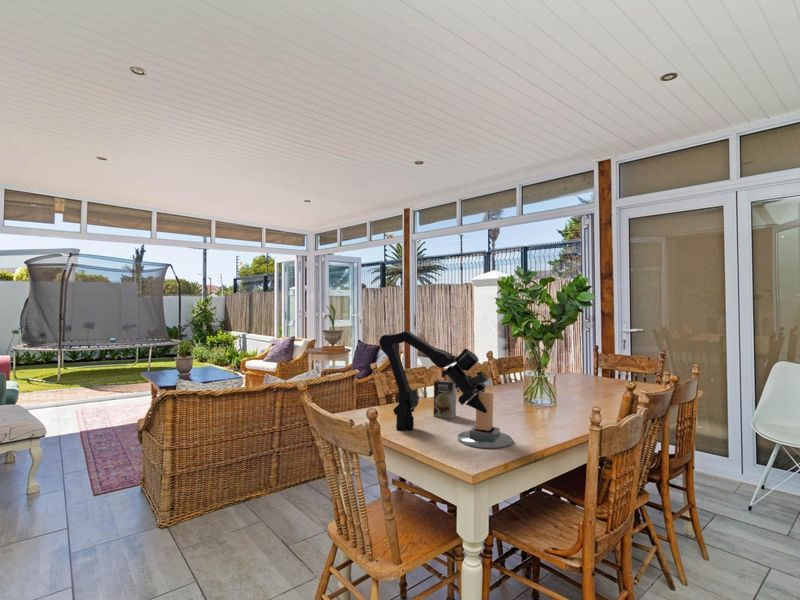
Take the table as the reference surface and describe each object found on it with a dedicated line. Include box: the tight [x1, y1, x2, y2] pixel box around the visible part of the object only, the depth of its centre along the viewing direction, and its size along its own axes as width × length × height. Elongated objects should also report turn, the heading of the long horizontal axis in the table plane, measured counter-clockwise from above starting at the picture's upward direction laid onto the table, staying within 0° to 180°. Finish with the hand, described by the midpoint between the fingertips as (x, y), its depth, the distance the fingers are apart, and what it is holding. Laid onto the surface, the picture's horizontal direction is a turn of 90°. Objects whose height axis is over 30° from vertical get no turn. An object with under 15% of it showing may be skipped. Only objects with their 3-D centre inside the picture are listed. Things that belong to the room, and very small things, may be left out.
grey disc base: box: [457, 425, 513, 450], centre depth 162 cm, size 20×20×4 cm
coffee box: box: [433, 379, 457, 419], centre depth 197 cm, size 9×6×16 cm
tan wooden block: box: [475, 392, 494, 431], centre depth 162 cm, size 5×5×13 cm
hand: (488, 410), depth 161 cm, fingers closed on tan wooden block, 5 cm apart
